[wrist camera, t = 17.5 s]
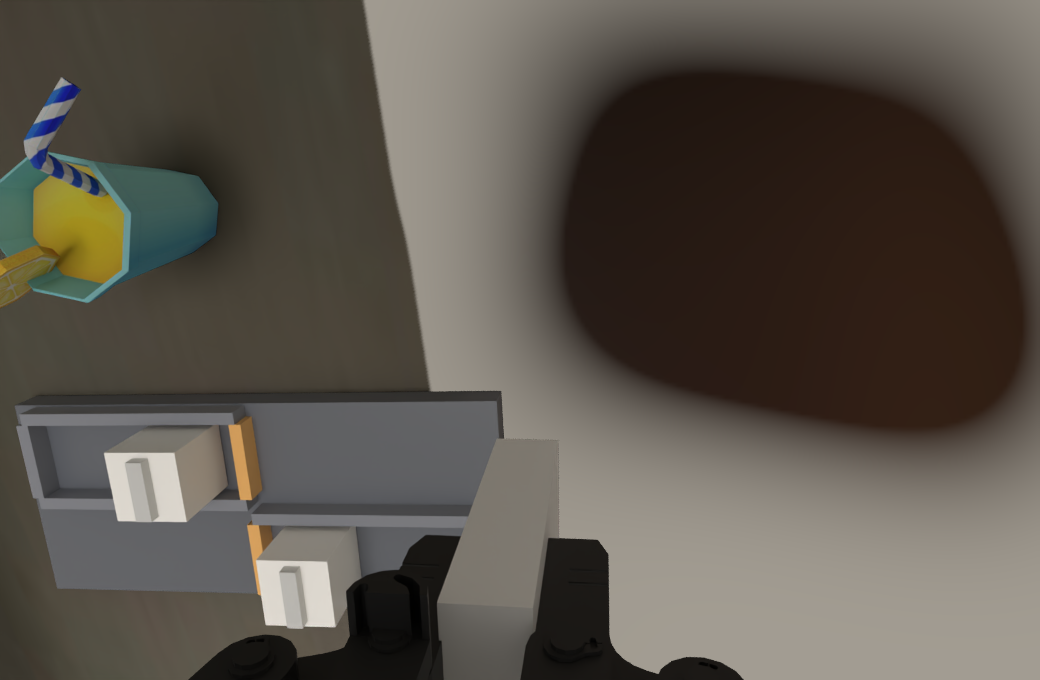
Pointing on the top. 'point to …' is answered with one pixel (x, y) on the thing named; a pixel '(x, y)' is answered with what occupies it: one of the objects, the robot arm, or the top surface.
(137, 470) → the tab
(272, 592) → the tab
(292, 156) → the top surface
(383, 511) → the switch bank
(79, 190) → the cup
